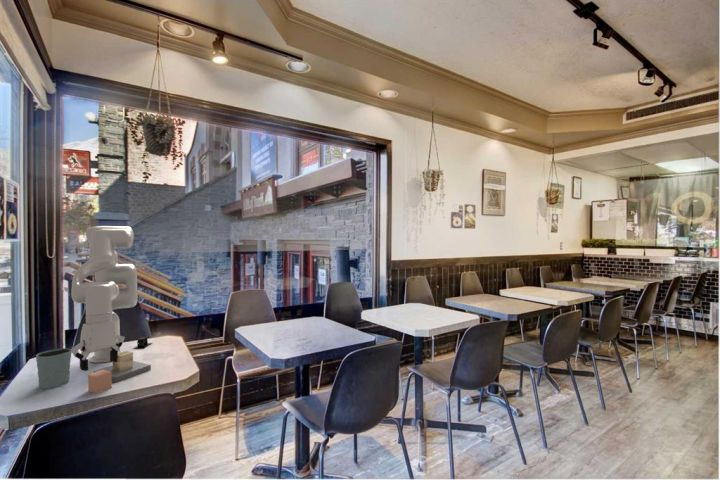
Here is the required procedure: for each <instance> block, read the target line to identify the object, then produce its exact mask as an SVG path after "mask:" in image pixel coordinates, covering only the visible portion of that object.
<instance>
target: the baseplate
mask: <svg viewBox="0 0 720 480" xmlns="http://www.w3.org/2000/svg"><path fill="white" fill-rule="evenodd" d="M100 370H106V371H111V376H112V383H118V382H121V381H123V380H126V379H129V378H132V377H134V376H137V375H140V374H143V373H145V372H148V371H150V370H152V364H149V363H144V362H139V361H137V360H136V361H135V360H133V367H131V368H128V369H125V370H123V371H117V370H113V366H112V365H110V366H106V367H103V368H100V369H97V370H94V371H93V373H94V372H97V371H100Z"/></svg>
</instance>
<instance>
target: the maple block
mask: <svg viewBox="0 0 720 480" xmlns="http://www.w3.org/2000/svg"><path fill="white" fill-rule="evenodd" d="M133 361H134V352H133V351H128V350H121V352H119V353H118V358H117V362H112V365H111V366H113V370H117V371H123V370H125V369H128V368H131V367H133Z"/></svg>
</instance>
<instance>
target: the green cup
mask: <svg viewBox="0 0 720 480" xmlns="http://www.w3.org/2000/svg"><path fill="white" fill-rule="evenodd" d="M71 349H72V348H66V347H65V348H64V347H63V348H55V349H50V350H46V351H45V350H44V351H41V352H39V353H37V354H36V355H35V359H36V368H37V377H38V387H39V389H41V390H49V389H54V387H55V388H58V387H61V386H65V385H66V384H68V383H69V381H70V371H71V370H70V369H71V360H72V359H71V358H72V354H73V353H72V352H71Z"/></svg>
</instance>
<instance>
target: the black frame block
mask: <svg viewBox="0 0 720 480" xmlns="http://www.w3.org/2000/svg"><path fill="white" fill-rule="evenodd" d="M148 340H149V339H148V337H147V336H143V337H142V336H141V337H139V338H137V342H136V343H137V346H135V347H134V348H132V350H144V349H145V348H148V347H149V346H150V345H152V344H153V342H148Z"/></svg>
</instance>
